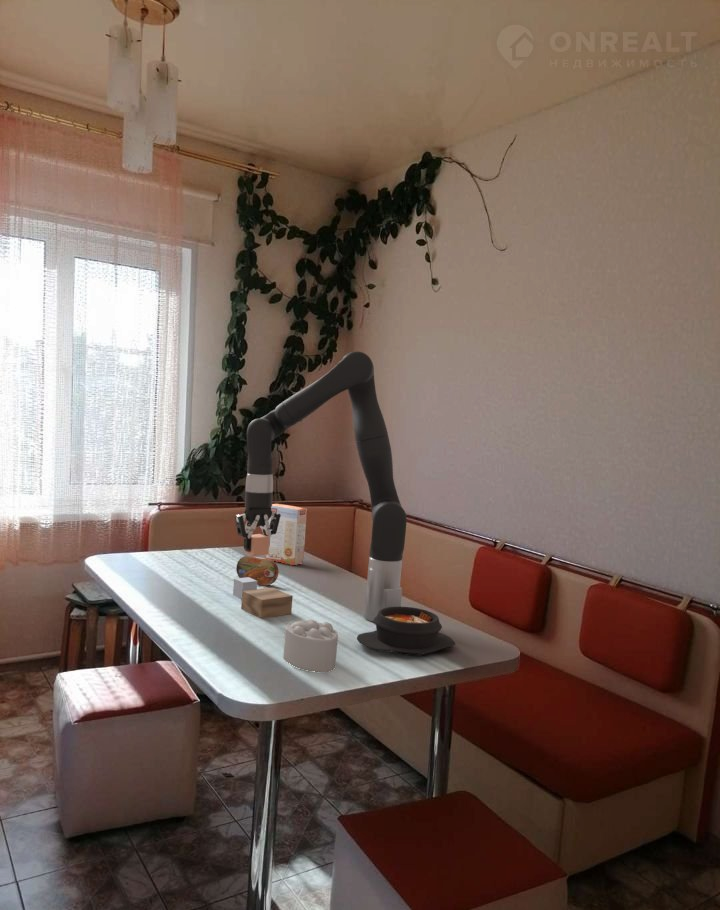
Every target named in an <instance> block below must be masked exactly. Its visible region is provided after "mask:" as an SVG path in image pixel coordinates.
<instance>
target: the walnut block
mask: <svg viewBox="0 0 720 910" xmlns="http://www.w3.org/2000/svg"><path fill="white" fill-rule="evenodd" d="M293 597H294V596H293V595H291V594H289V593H286V592H284V591H282V590H280V589H276V588H275V587H264V588H257V589H256V590H247V591H242V599H241V607H240V608H241V610H242V611H244V612H246V613H249V614H251V615H254V616H255V617H258V618H259V619H265V618H266V619H268V618H272V617H278V616H285V615H291V614H292V608H293Z"/></svg>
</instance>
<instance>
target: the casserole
mask: <svg viewBox="0 0 720 910" xmlns="http://www.w3.org/2000/svg"><path fill="white" fill-rule="evenodd" d="M374 624H375V627H376V628H375V630H372V631H367V632H362V633H359V634H358V635H357V636H356V640H357V641H358V642H359V643H360V644H361V645H362V646H364V647H366V648H368V649H371V650H373V651H380V652H392V653H396V654H401V655H406V654H407V656H413V655H414V656H417V654H418V655H424V654H423V653H425V654H431V653H435V652H438V651H441V650H442V649H447V648H453V647H454V646H455V645H456V642H455V641H454V639H453V638H451V637H450V636H449V635H447V634H445V633H442V632H440V631H441V630H442V629H443V626H442V624H441V622H440V618H439V616H438V615H437V614H436V613H433V612H431V611H429V610H425V609H422V608H416V607H409V606H401V607H388V608H383V609H381V610H380V611H379V612H378V614H377V616H376V617H375V618H374Z"/></svg>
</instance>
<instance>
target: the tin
mask: <svg viewBox="0 0 720 910" xmlns="http://www.w3.org/2000/svg"><path fill="white" fill-rule="evenodd" d="M235 571H236V574H237V576H238V578H245V577H249V578H252V579H254V580H256V581H257V586H258V585H259V586H263V587H264V586H265V587H266V586H270V585H272V584H274V583H275V582H276V581H277V580H278V577H279V568H278V564H277V562H274V561H273V560H270V559H265V557H259V556H252V555H244V556H242V557H241V558H239V560H238V561H237V563H236V569H235Z"/></svg>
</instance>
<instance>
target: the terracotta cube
mask: <svg viewBox="0 0 720 910" xmlns="http://www.w3.org/2000/svg"><path fill="white" fill-rule="evenodd" d="M243 554H246V555H248V556H254V557H259V556H265V555H268V554H269V536H265V535H263V533H262V534H261V533H257V534H256V533H255V534H252V536H251V551H250V552H247V551H245V549H244V548H243Z"/></svg>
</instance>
